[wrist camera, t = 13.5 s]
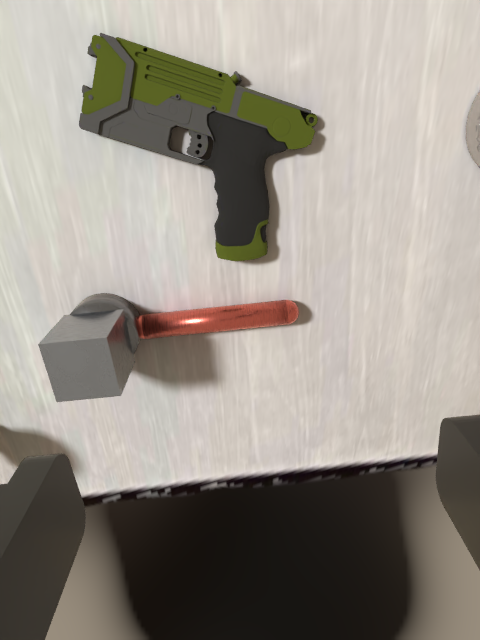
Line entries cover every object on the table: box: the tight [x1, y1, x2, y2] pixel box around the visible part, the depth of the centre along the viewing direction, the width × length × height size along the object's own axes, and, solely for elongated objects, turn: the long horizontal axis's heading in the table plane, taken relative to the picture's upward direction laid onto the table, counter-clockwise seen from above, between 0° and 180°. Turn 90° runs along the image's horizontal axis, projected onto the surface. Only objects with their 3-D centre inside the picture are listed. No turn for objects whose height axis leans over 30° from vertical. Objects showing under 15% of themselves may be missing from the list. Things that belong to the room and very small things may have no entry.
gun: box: [79, 33, 318, 261], centre depth 37 cm, size 2×19×15 cm
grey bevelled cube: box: [38, 309, 135, 402], centre depth 38 cm, size 6×6×6 cm
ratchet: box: [70, 293, 299, 354], centre depth 40 cm, size 23×7×8 cm, turn 96°
